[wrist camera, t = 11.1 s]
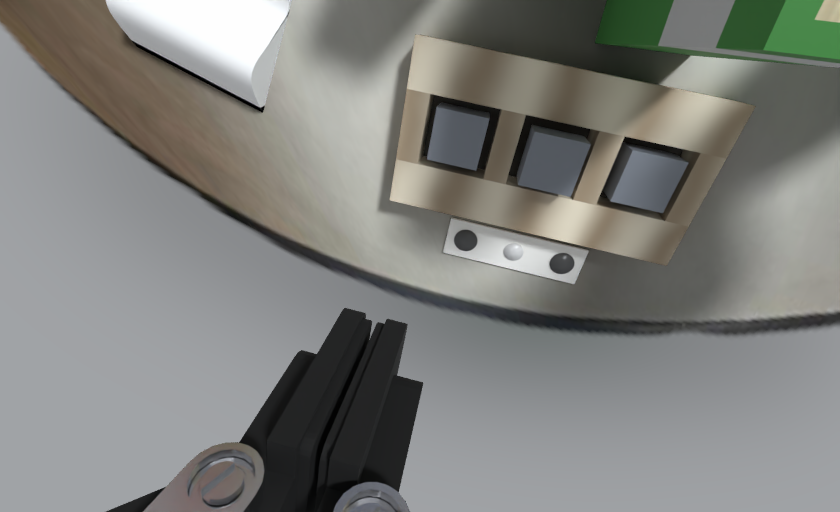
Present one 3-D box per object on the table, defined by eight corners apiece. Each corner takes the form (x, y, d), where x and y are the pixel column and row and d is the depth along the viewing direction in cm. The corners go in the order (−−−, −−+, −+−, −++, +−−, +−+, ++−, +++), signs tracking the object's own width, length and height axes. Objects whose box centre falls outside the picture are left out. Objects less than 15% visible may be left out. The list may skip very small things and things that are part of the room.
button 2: (674, 153, 35) (688, 162, 32) (651, 200, 37) (662, 213, 34) (622, 142, 35) (632, 150, 33) (602, 190, 37) (610, 201, 35)
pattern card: (588, 249, 41) (589, 251, 41) (573, 282, 43) (574, 284, 42) (451, 217, 42) (450, 218, 41) (443, 251, 44) (442, 252, 43)
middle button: (583, 136, 34) (591, 144, 32) (565, 185, 36) (570, 197, 34) (531, 124, 34) (534, 131, 32) (516, 174, 37) (517, 184, 34)
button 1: (490, 113, 36) (489, 118, 33) (477, 161, 38) (476, 170, 35) (441, 102, 36) (436, 107, 34) (431, 151, 38) (426, 159, 36)
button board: (735, 100, 33) (755, 106, 30) (655, 250, 40) (666, 265, 37) (421, 34, 35) (415, 34, 32) (396, 190, 41) (389, 200, 39)
